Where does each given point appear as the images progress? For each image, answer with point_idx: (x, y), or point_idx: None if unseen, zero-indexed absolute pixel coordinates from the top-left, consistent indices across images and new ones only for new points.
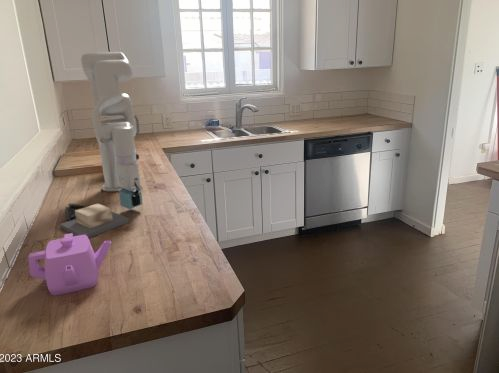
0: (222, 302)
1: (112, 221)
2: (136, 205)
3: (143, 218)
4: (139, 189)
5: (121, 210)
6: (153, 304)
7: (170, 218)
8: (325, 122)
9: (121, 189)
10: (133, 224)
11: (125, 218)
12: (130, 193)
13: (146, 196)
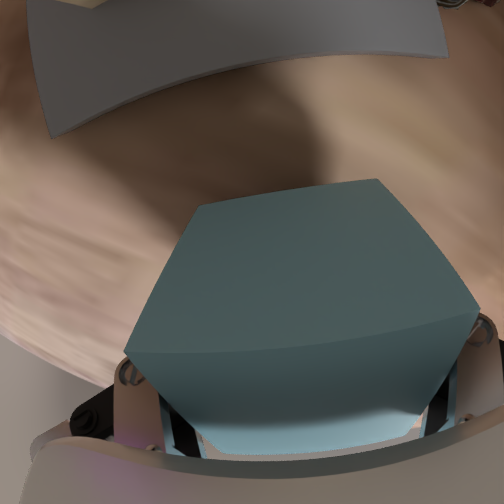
0: None
1: (70, 8)
2: None
3: (91, 232)
4: (34, 448)
5: (376, 169)
6: None
7: (57, 318)
8: None
9: (475, 359)
10: (34, 148)
11: (62, 112)
12: (161, 390)
13: None
